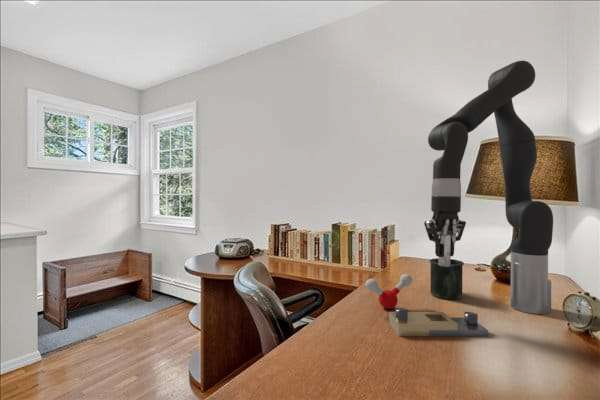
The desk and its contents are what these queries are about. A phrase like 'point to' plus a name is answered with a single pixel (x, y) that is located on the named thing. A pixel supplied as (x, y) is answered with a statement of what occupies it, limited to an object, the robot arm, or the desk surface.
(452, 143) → the robot arm
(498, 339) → the desk surface
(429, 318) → the two-tone base plate
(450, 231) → the pin
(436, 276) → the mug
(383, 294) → the molecular model
